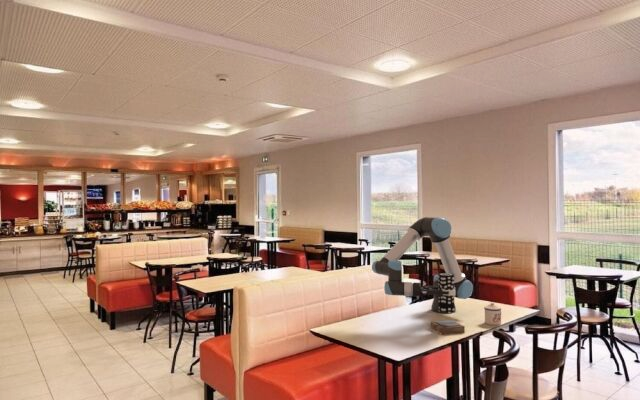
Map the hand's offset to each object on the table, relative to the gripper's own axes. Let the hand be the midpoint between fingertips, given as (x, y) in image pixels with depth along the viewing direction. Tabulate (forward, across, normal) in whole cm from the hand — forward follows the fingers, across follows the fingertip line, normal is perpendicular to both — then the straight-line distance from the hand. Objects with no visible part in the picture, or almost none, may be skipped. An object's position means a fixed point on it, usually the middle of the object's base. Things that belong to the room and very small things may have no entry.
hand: (455, 291), depth 230 cm
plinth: (-4, 0, -21) cm, 22 cm away
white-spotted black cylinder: (-5, 0, -11) cm, 12 cm away
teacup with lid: (+21, -22, -21) cm, 38 cm away
